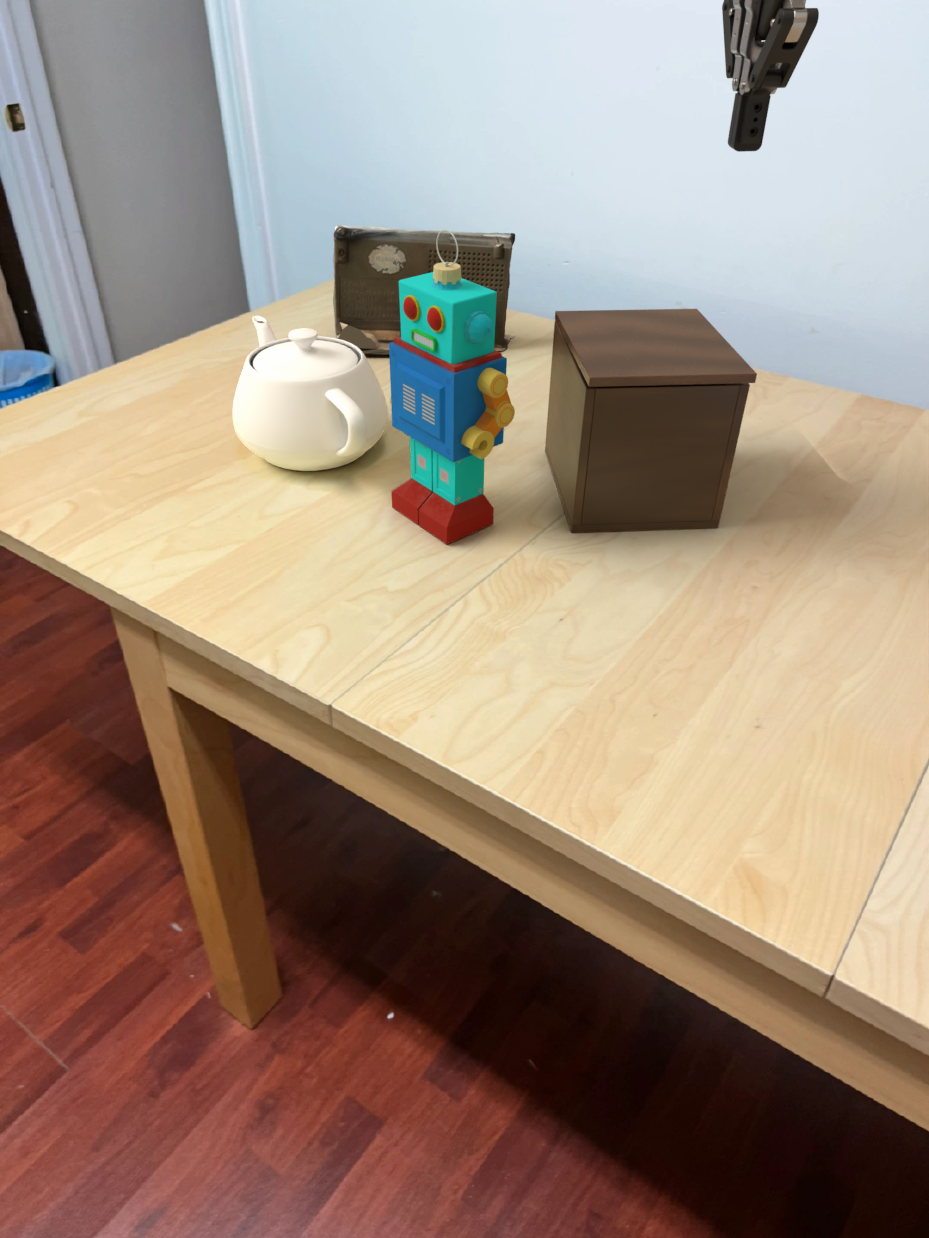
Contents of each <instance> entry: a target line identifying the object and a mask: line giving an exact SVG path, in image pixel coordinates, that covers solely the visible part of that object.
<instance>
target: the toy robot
mask: <svg viewBox="0 0 929 1238" xmlns="http://www.w3.org/2000/svg"><path fill="white" fill-rule="evenodd" d="M439 231H440V232H439V234H438V236H437V240H436V248H437V253H438V256H439V258H440V259H441V261H442V262H441V263H437V264H435V265H434V269H433V272H431V273H427V274H423V275H419V276H415V277H410V278H406V279H402V280H399V299H400V322H401V337H398V338H395V339H394V342H390V343H389V354H388V355H389V378H390V380H389V381H390V397H389V404H390V407H391V425H392V427H393V428H395V429H396V430H398V431H400V432H401V433H403V434H405V435H406V436H408V437H409V449H410V450H409V451H410V479H408V480H406V481H405V482H403V483H402V484H400V485H398V486H397V487H396V488H394V489H393V490H391V491H390V492H391V493H390V494H391V495H390V496H391V507H392V508H393V509H394V510H395V511H397V512H398V513H399V514H402V515H403V516H404V517H406V518H407V519H409V520H410V521H411V522H412V523H415V525H417V526H419V527H420V528H422V529H423V530H425V531H426V532H428V533H429V534H431V535H432V536H434V537H435V538H437V539H438V540H440V541H441V542H442V543H444V544H445V545H450V544H452V543H454V542H456V541H458V540H460V539H463V538H465V537H467V536H469V535H471V534H474V533H476V532H478V531H480V530H483V529H486V528H487V527H489V526H493V524H494V513H495V512H494V510H495V509H494V506H493V505H492V503H491V502H490V501H489V500H488V498H487V497H486V495H485V494H484V489H485V487H484V486H485V460H486V459H485V458H486V457H488V456H489V455H490V453H492V451H493V448H495V447H497V446H500V445H502V444H503V443H504V435H505V434H504V431H505V428H506V427H507V426H509V425H510V424H511V423H512V422H513V419H514V418H515V412H516V410H515V406H513V404H512V401H511V399H510V395H509V391H508V385H509V378H508V375H507V365H508V364H507V363H508V359H507V358H506V357H505V356H503V355H502V352H501V351H496V350H494V339H495V318H496V298H497V293H496V291H493V290H491V289H488V288H486V287H483V286H481V285H478V284H475V283H473V282H470V281H468V280H465V279H463V278H461V266H460V265H459V264H457V263H455V262H456V261H457V258H458V244H457V241H456V238H455V236H454V235H453V233H452V232H450V231H451V230H449V229H445V228H444V229H441V230H439ZM443 231H447V232H449V233H450V234H451V235H452V236H453V238H454V240H455V243H456V247H457V256H456V259H455V261H454V262H453V263H452V262H444V261H443V260H442V258H441V256H440V254H439V250H438V238H439V235H440V234H441V232H443Z"/></svg>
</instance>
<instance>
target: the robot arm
mask: <svg viewBox="0 0 929 1238" xmlns="http://www.w3.org/2000/svg"><path fill="white" fill-rule="evenodd" d="M806 3H807V0H723V2H722V5H721V10H722V11H721V12H722V27H723V28H722V30H723V43H724V44H723V46H724V47H723V48H724V61H725V77H726V79H732V81H731V89H732V91H733V92H735V94H734V100H733V106H732V113H731V117H730V118H731V119H730V124H729V129H728V130H729V131H728V137H727V145H728V147H730V148H731V149H733V150H734V151H736V152H737V153H738V152H756V151H759V150H760V149H761V148H762V146H763V140H764V136H765V135H764V134H765V130H766V125H767V118H768V112H769V107H770V102H771V97H772V95H775V94H776V92H777V90H778V89H785V88H786V87H787V86H788V84H789V82H790V80H791V78H792V76H793V74H794V72H795V70H796V68H797V66H798V63H799V61H800V59H801V58H802V56H803V54H804V51H805V50H806V48H807V46H808V43H809V42H810V39H811V38H812V35H813V34H814V31H815V29H816V27H817V25H818V22H819V17H820V12H819V9H818V8H817V7H806Z"/></svg>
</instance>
